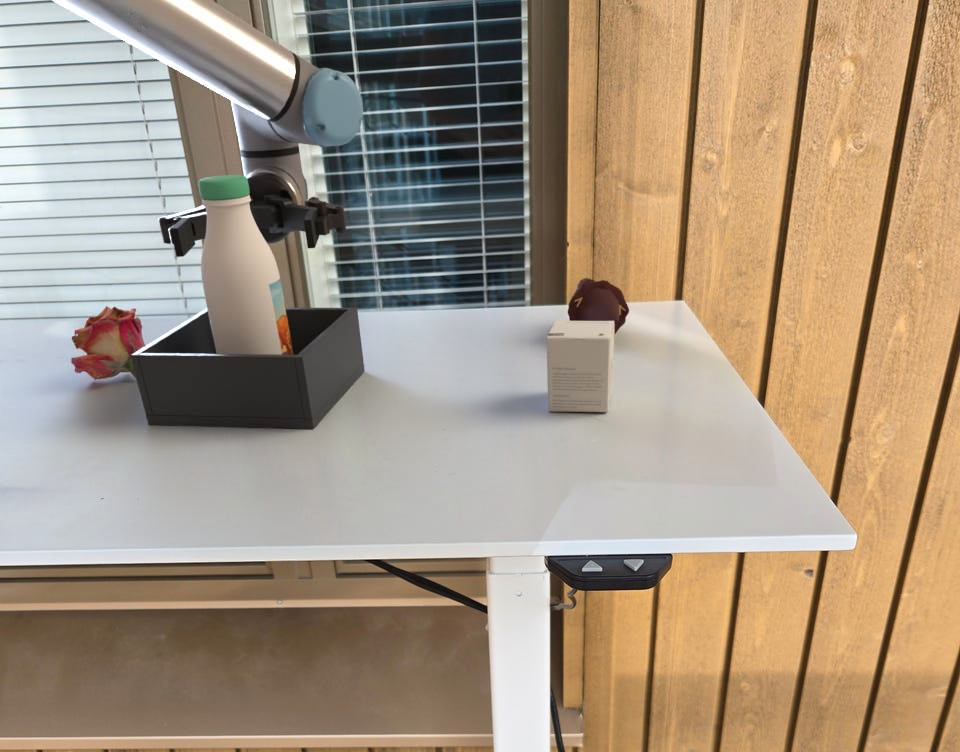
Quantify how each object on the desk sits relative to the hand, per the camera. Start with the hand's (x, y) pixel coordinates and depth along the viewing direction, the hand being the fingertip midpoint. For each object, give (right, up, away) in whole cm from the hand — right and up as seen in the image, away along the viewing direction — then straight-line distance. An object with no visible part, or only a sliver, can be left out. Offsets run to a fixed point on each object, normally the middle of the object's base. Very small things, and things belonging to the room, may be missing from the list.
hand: (243, 238), depth 91 cm
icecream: (+39, -5, +16) cm, 42 cm away
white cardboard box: (+35, -18, -2) cm, 39 cm away
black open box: (+1, -15, +4) cm, 16 cm away
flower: (-18, -11, +11) cm, 24 cm away
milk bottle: (+1, -15, +3) cm, 15 cm away
